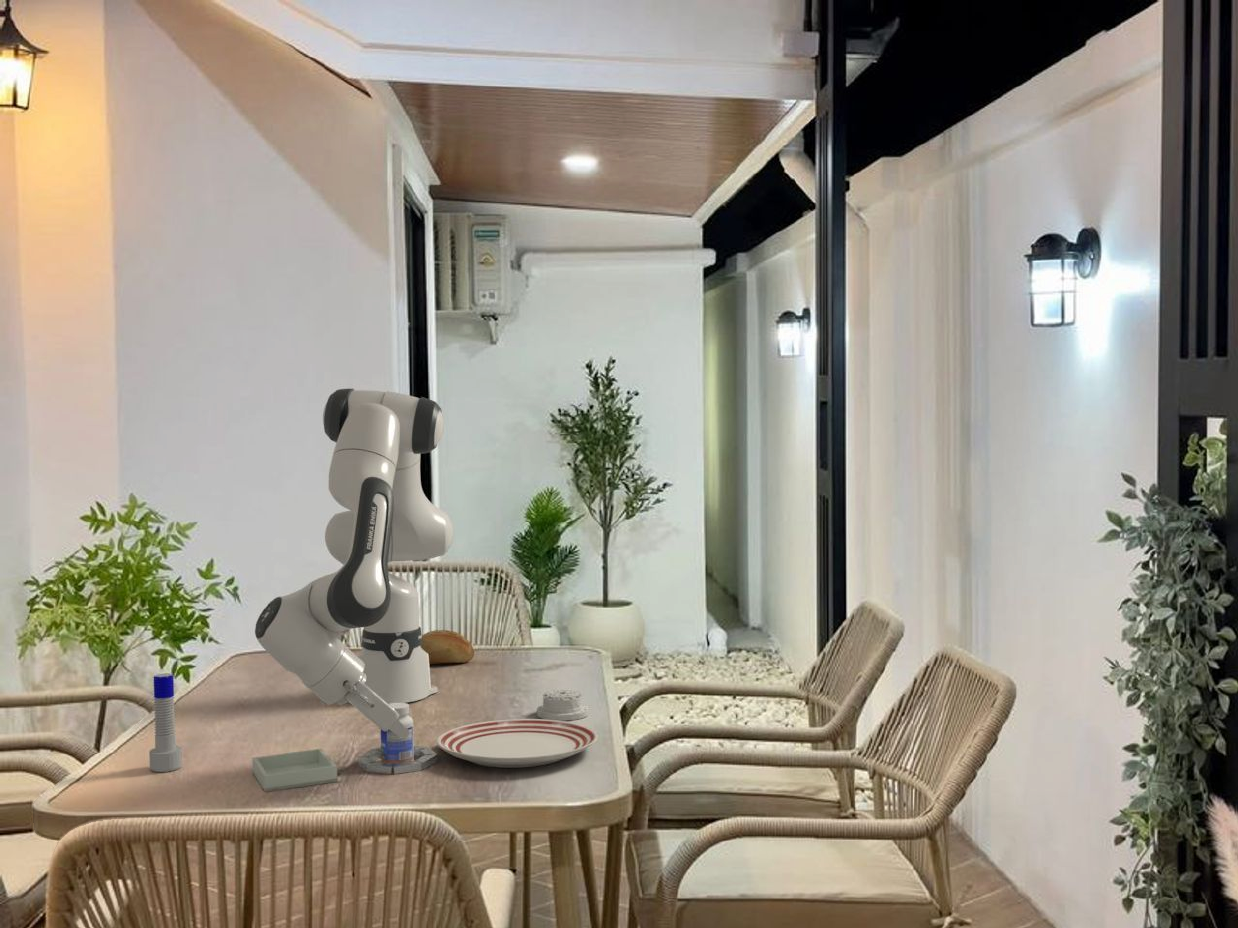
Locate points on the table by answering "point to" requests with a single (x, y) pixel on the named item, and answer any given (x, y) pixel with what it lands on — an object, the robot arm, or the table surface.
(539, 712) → the mechanical component
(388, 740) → the pill bottle
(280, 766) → the bin
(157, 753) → the bolt
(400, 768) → the collar
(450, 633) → the bread roll
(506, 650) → the table surface
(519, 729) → the dinner plate
